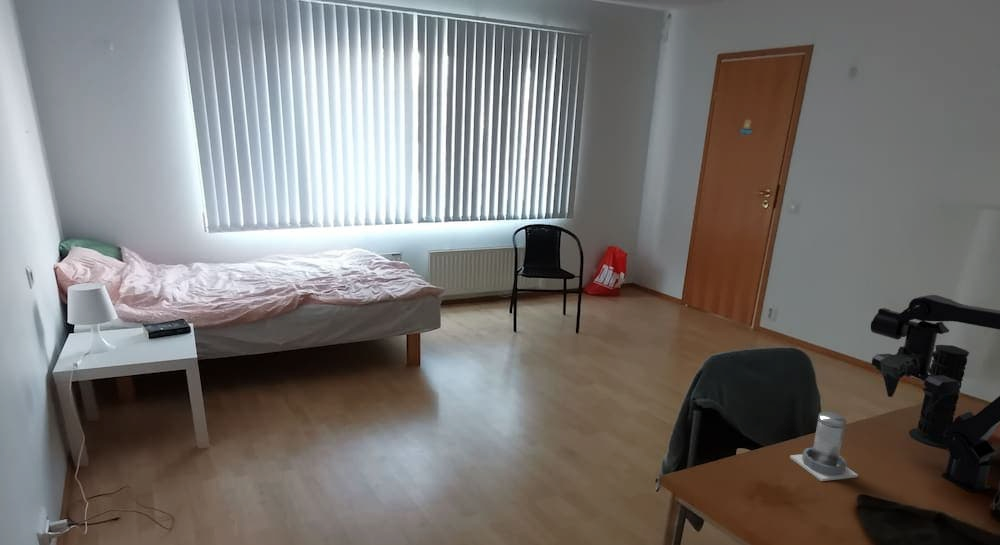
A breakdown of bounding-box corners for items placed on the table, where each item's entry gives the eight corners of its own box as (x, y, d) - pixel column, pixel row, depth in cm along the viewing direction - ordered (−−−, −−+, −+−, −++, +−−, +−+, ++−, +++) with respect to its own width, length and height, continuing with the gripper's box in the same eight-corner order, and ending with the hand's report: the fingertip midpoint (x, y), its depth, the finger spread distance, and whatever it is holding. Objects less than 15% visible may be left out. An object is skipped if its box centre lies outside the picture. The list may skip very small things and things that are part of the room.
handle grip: (920, 445, 143) (964, 451, 141) (942, 350, 137) (987, 354, 135) (901, 427, 153) (941, 432, 151) (920, 337, 147) (963, 341, 145)
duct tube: (841, 467, 130) (851, 419, 127) (828, 473, 127) (837, 424, 125) (819, 456, 135) (827, 409, 132) (805, 461, 132) (813, 414, 129)
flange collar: (857, 477, 128) (859, 467, 127) (821, 481, 125) (823, 471, 125) (824, 454, 137) (825, 444, 137) (789, 457, 135) (791, 448, 134)
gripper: (859, 334, 140) (848, 390, 144) (929, 361, 123) (915, 425, 126) (895, 332, 143) (883, 388, 146) (968, 359, 125) (953, 421, 129)
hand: (906, 404), depth 137 cm, fingers open, 9 cm apart
